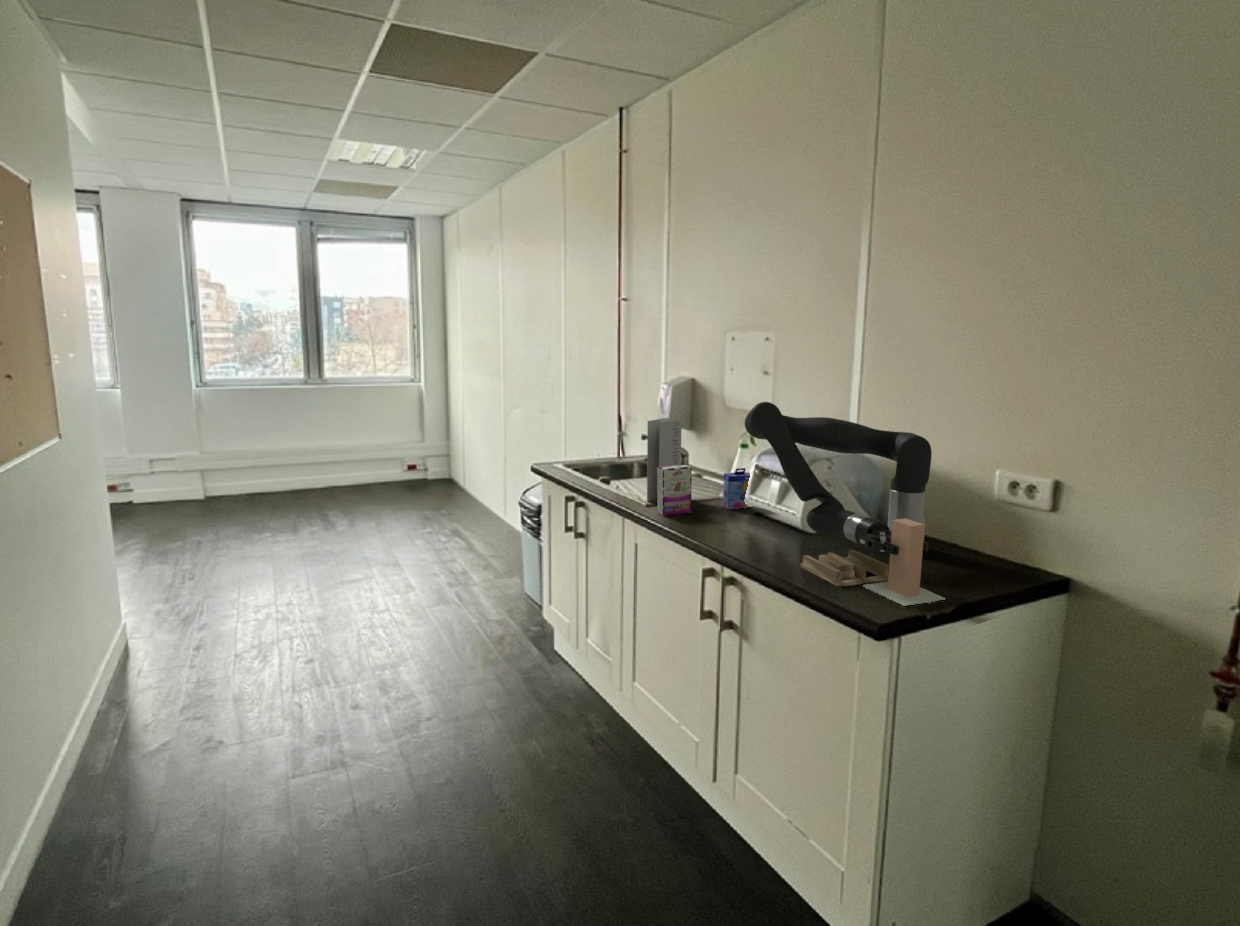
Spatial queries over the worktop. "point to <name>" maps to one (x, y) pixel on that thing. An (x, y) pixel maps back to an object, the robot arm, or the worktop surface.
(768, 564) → the worktop surface
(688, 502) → the candy bar box
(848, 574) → the plywood offcut stack
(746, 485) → the ink cartridge box
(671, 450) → the grey lettered box
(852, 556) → the birch rack
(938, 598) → the sage mat
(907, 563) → the peach upright pillar
